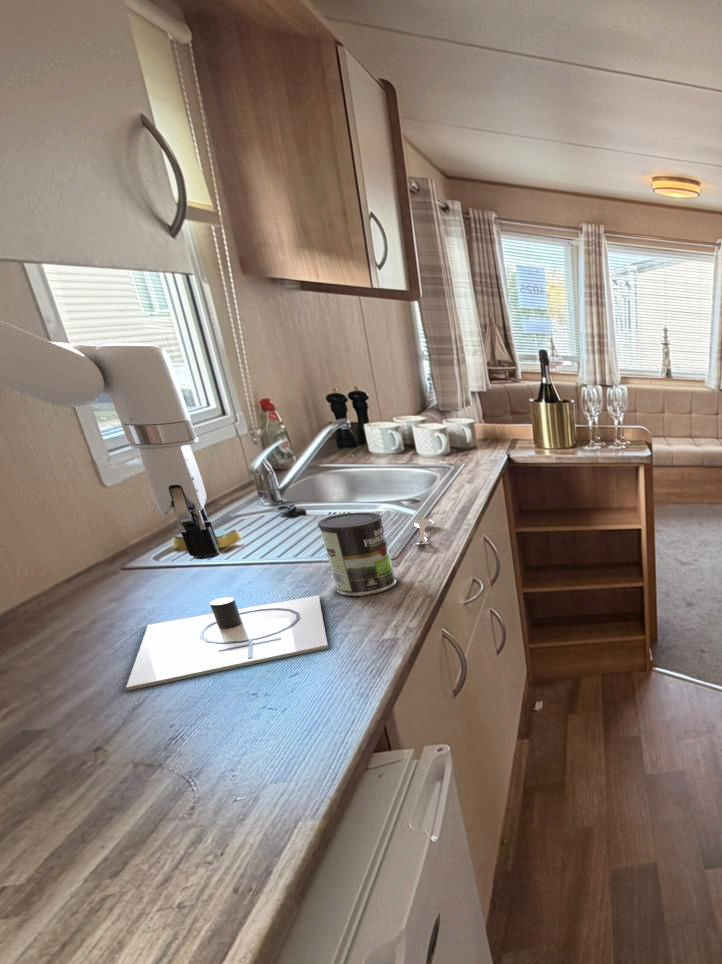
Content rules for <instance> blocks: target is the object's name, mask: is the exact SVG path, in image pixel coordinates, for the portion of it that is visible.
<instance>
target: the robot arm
mask: <svg viewBox="0 0 722 964" xmlns="http://www.w3.org/2000/svg"><path fill="white" fill-rule="evenodd" d="M0 387H1V388H4V389H7V390H10V391H12V392H14V393H17V394H20V395H23V396H26V397H28V398H31V399H34V400H37V401H40V402H43V403H45V404H48V405H53V406H57V407H65V408H78V407H84V406H86V405H89V404H92V403H93V402H95V401H96V400H97V399H98V398H99V397H101V396H108V397H109V398H110V399H111V402H112V405H113V407H114V409H115V412H116V415H117V417H118V419H119V422H120V426H121V427H122V430H123V433H124V436H125V437H126V438H125V439H126V440H127V442H128V445H129V447H130V448H134V449H139V452H140V456H141V461H142V464H143V468H144V471H145V474H146V477H147V480H148V482H149V486H150V489H151V492H152V494H153V497H154V501H155V503H156V506H157V510H158V512H159V514H161V515H164V516H167V515H168V514H169V513H170V512H171V510H173V512H174V516H175V517H176V520H177V523H178V526H179V529H180V533H181V537H182V538H183V541H184V542H183V543H184V544H185V547H186V550H187V552H188V555H189V556H190V557H193V556H198V555H205V554H213V553H216V551H217V550H216V547H215V544H214V542H213V539H212V536H211V533H210V531H209V528H206V527H205V526H208V527H210V528H211V530H212V533H213V536H214V539H215V541H216V544H217V546H218V545H219V541H218V538H217V535H216V532H215V530H214V527H213V525H212V522H211V521H209V517H208V514H207V511H206V508H205V505H206V502H207V492H206V489H205V485H204V482H203V479H202V475H201V472H200V470H199V469H200V468H199V466H198V463H197V461H196V458H195V455H194V452H193V450H192V447H191V445H193V444H196V443H199V438H198V436H197V433H196V430H195V427H194V424H193V422H192V418H191V415H190V413H189V409H188V407H187V404H186V401H185V399H184V395H183V393H182V389H181V387H180V384H179V381H178V379H177V376H176V373H175V370H174V368H173V365H172V361H171V359H170V356H169V355H168V353H167V351H165V349H164V348H162V347H160V346H158V345H155V344H149V343H107V344H102V345H92V344H91V345H90V344H78V343H77V344H76V343H65V342H58V341H57V342H56V341H54V342H53V341H50V340H48V339H45V338H44V337H41V336H38V335H36V334H34V333H31V332H29V331H26V330H24V329H22V328H20V327H17V326H15V325H12V324H10V323H8V322H5V321H4V320H1V319H0Z"/></svg>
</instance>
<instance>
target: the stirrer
mask: <svg viewBox="0 0 722 964" xmlns="http://www.w3.org/2000/svg"><path fill="white" fill-rule="evenodd" d="M433 523H434V521H433V520H432V519H430V518H417V519H415V520H414V521H412V523H411V524H412V525H413V526H415V527H417V528H418V529H419V532H420V533H419V539H418V541H417V542H413V543H412V546H416V545H426V544H428V545H429V544H430V542H429V541H428V539H427V538H426V535H425V534H426V533H425V529H426V528H427V527H430V526H431V525H432V524H433Z"/></svg>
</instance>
